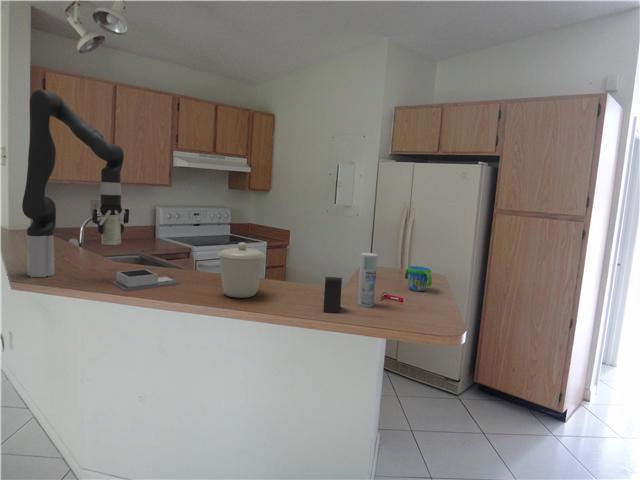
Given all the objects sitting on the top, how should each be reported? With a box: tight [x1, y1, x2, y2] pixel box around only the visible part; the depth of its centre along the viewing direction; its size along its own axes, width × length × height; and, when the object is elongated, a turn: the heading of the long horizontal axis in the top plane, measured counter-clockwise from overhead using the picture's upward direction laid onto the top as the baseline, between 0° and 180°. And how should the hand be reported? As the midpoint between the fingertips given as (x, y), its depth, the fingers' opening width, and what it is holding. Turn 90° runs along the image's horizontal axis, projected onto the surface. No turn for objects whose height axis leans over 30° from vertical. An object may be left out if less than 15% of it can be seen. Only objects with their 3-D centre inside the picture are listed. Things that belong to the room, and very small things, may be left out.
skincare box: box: [100, 214, 122, 246], centre depth 175 cm, size 6×4×12 cm
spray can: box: [357, 252, 379, 308], centre depth 165 cm, size 6×6×20 cm
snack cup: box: [404, 265, 433, 293], centre depth 195 cm, size 16×10×10 cm
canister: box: [217, 241, 266, 299], centre depth 168 cm, size 18×18×21 cm
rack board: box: [112, 268, 181, 292], centre depth 176 cm, size 22×14×5 cm, turn 135°
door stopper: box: [323, 276, 343, 314], centre depth 156 cm, size 9×6×12 cm, turn 179°
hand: (110, 233), depth 176 cm, fingers closed on skincare box, 7 cm apart
